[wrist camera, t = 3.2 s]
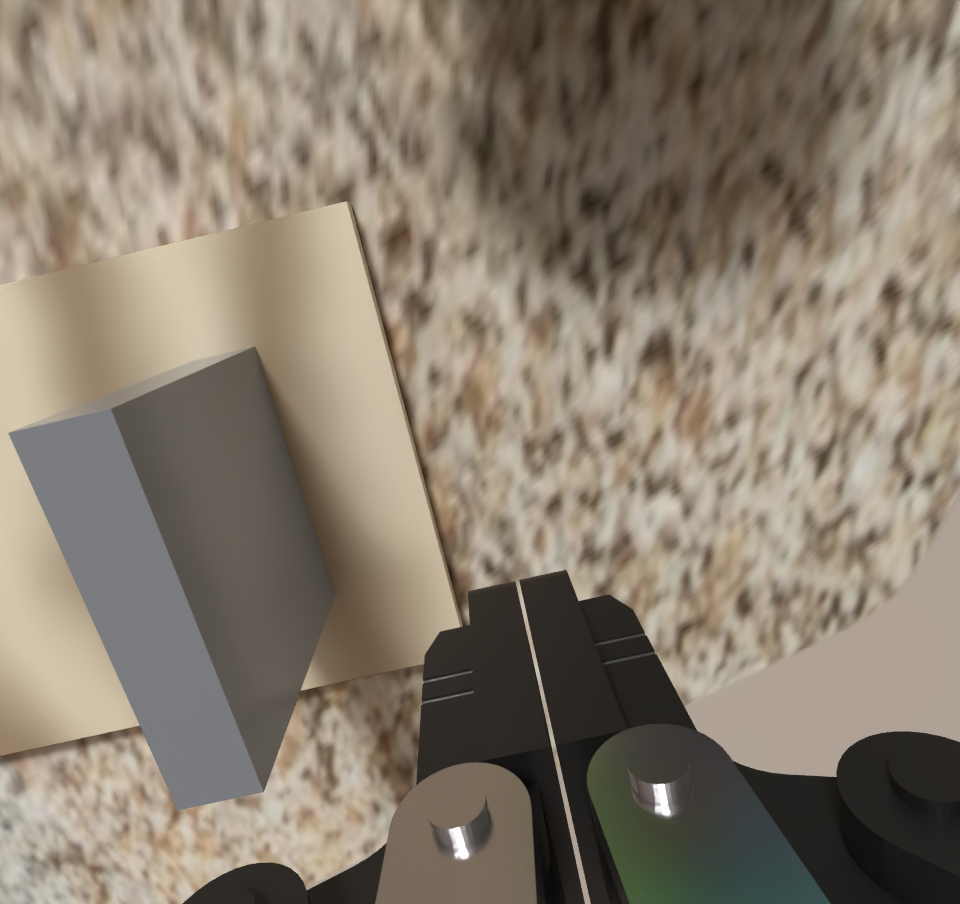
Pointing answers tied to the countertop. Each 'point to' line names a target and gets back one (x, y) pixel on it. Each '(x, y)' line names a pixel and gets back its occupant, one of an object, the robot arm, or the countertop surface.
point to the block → (190, 562)
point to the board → (305, 425)
